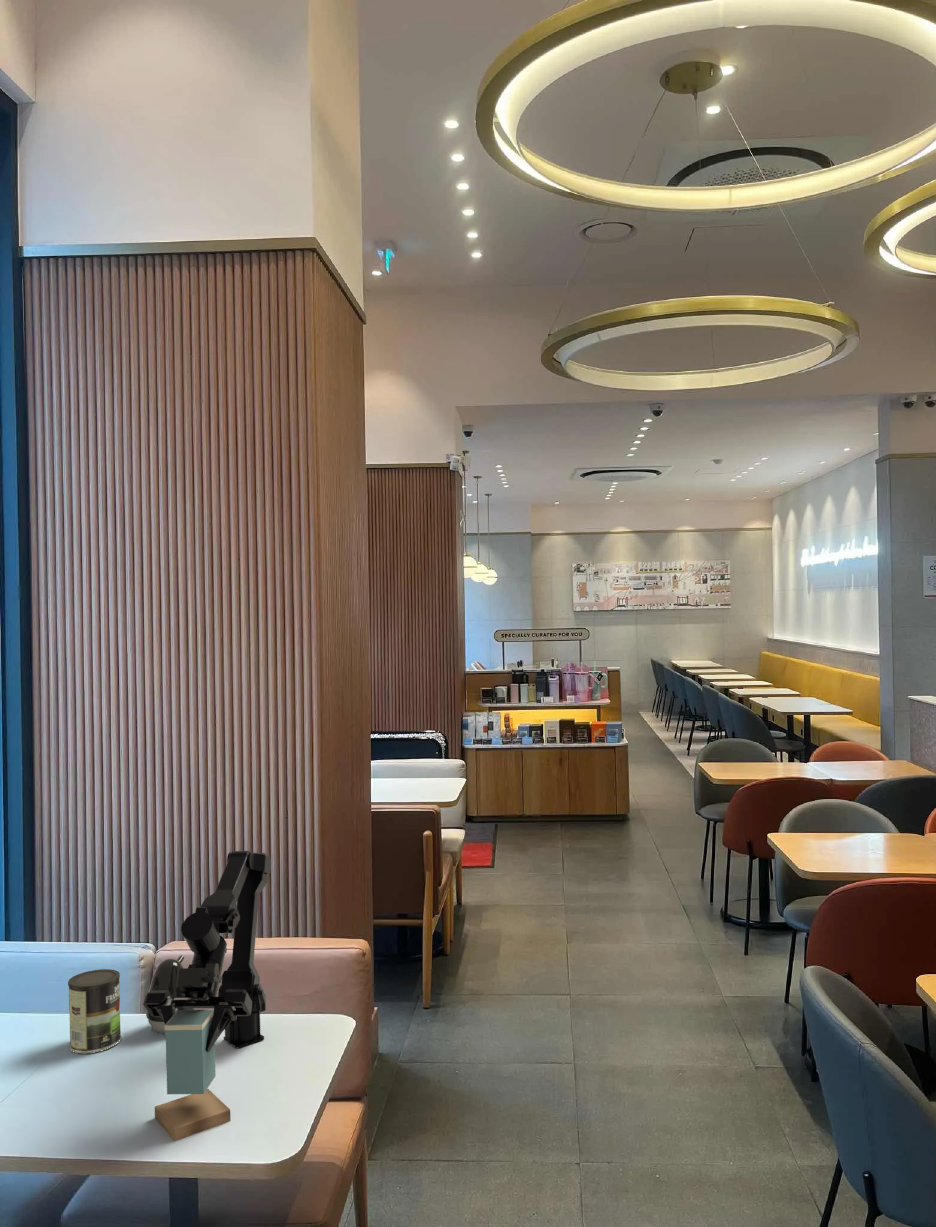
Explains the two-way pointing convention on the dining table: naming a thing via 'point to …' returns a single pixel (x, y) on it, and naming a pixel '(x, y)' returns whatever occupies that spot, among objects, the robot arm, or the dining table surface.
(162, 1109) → the block
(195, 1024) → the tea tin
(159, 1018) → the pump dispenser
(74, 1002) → the coffee can
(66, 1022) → the dining table surface
